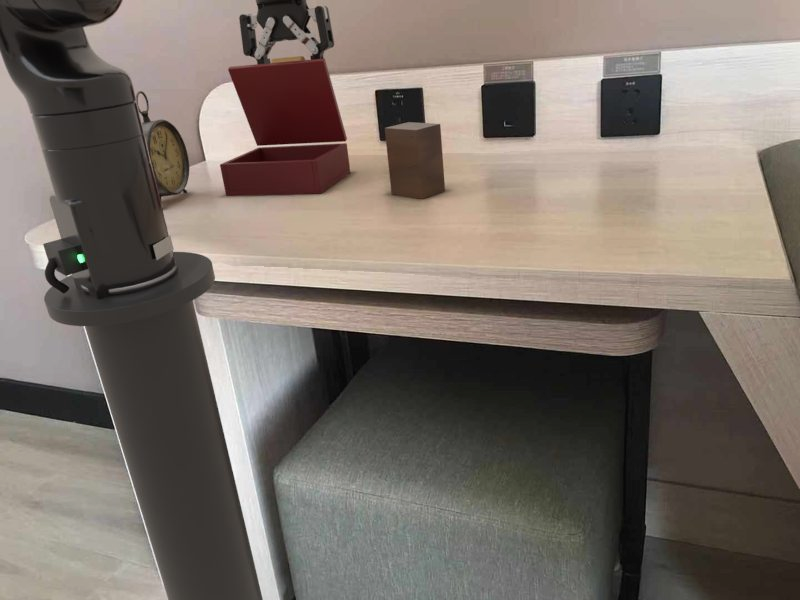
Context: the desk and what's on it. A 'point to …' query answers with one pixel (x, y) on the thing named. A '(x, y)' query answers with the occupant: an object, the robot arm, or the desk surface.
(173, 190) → the alarm clock
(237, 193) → the box base
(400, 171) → the bookend
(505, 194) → the desk surface
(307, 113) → the box lid
